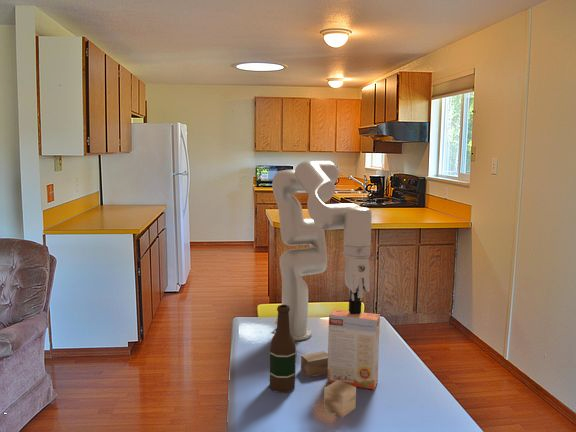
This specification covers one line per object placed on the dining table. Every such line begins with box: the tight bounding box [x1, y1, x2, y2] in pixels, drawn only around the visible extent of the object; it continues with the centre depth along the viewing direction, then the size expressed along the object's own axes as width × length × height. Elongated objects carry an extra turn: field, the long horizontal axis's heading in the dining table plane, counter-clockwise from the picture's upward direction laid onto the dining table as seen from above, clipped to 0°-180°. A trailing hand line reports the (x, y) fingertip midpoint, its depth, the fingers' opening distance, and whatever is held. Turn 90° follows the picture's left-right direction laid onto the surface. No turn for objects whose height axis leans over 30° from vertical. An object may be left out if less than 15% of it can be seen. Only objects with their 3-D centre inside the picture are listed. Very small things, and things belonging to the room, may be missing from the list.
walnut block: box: [300, 350, 328, 378], centre depth 153 cm, size 5×8×5 cm, turn 114°
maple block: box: [323, 380, 357, 418], centre depth 131 cm, size 6×6×6 cm
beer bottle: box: [269, 304, 297, 393], centre depth 141 cm, size 8×8×24 cm
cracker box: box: [327, 308, 381, 391], centre depth 145 cm, size 14×6×21 cm, turn 70°
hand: (354, 312), depth 144 cm, fingers closed
